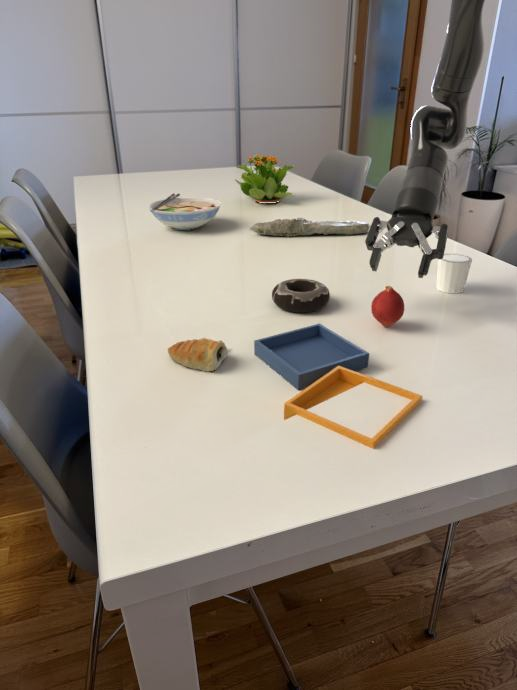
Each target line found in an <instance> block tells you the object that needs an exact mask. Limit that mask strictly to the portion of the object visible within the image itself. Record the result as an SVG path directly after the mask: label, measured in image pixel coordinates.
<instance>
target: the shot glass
mask: <svg viewBox="0 0 517 690" xmlns="http://www.w3.org/2000/svg"><path fill="white" fill-rule="evenodd" d="M472 263H473V259H472V257H471V256H468V255H465V254H461V253H452V252H451V253H444V256H443V258H442V259H437V269H436V270H437V271H436V289H437V290H438V291H439V292H442V293H446V294H460V293H463V292H464V290H465V287H466V284H467V280H468V276H469V273H470V269H471V266H472Z"/></svg>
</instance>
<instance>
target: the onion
mask: <svg viewBox="0 0 517 690" xmlns="http://www.w3.org/2000/svg"><path fill="white" fill-rule="evenodd" d="M370 308H371V315H372V317H373V318H374V319H375V320H376V321H377V322H378V323H380V324H381V326H382V327H384V328H388V327H390V326H393V325H394V324H397V323H398V321H399V320H401V319H402V317H403V315H404V313H405V301H404V299H403V296H401V294H400V293H399V292H397V290H395V289H394V287H393V286H391V285H386V286H385V289H384V290H382V291H379V293H377V295H375V296H374V298H373V299H372V301H371V305H370Z"/></svg>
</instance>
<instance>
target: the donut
mask: <svg viewBox="0 0 517 690" xmlns="http://www.w3.org/2000/svg"><path fill="white" fill-rule="evenodd" d="M330 298H331V294H330V290H329V288H328V287H327V286H326V285H325V284H324V283H323V282H320V281H318V280H315V279H310V278H309V279H308V278H292V279H287V280H283V281H281V282H279V283H277V284H276V285H275V286H274V287H273V289H272V291H271V300H272V301H273V303H274V304H275V306H277V307H278V308H280V309H281V310H283V311H287V312H291V313H301V314H303V313H310V312H317V311H319V310H321V309H323V308H324V307H325V306H327V304H328V303H329V301H330Z"/></svg>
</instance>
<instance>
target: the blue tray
mask: <svg viewBox="0 0 517 690" xmlns="http://www.w3.org/2000/svg"><path fill="white" fill-rule="evenodd" d="M253 342H254V343H253V347H254V349H253V350H254V352H253V353H254V356H256V357H257V356H258V357H259V358H258V357H257V358H258V359H259V360H261V361H262V360H263V361H264V362H265V363H264V362H263V361H262V362H263V363H264V364H265V365H266V366H268V365H269V366H270V367H271V368H270V367H269V366H268V367H269V368H270V369H271V370H273V371H274V370H275V371H276V372H275V371H274V372H275V373H276V374H277V375H279V376H280V375H281V376H282V377H281V376H280V377H281V378H282V379H284V380H285V381H286V382H287V383H288V384H289V385H291V386H292V387H293V388H295V389H296V390H297V391H302V390H304V389H306V388H307V387H309V386H310V385H311V384H313V383H314V382H316V381H317V380H319V379H320V378H321V377H323V376H324V375H326V374H327V373H329V372H330V371H331V370H333V369H334V368H336V367H337V366H341V367H344V368H347V369H349V370H352V371H355V372H359V371H362V370H365V369H368V368H369V361H370V360H369V359H370V353H369V352H368V351H366V350H364V349H363V348H361V347H359V346H358V345H357V344H354V343H353V342H351V341H349V340H348V339H346V338H345V337H343V336H341V335H340V334H339V333H336V332H335V331H333V330H331V329H330V328H328V327H326V326H325V325H323V324H321V323H315V324H312V325H308V326H305V327H304V326H303V327H301V328H300V327H299V328H297V329H293V330H289V331H285V332H281V333H278V334H274V335H270V336H267V337H262V338H258V339H254V340H253Z"/></svg>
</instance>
